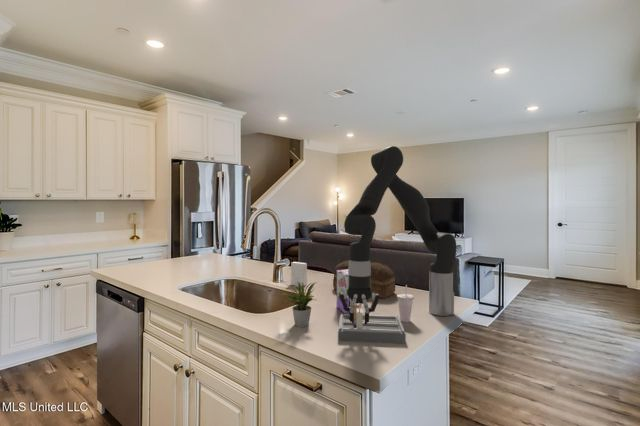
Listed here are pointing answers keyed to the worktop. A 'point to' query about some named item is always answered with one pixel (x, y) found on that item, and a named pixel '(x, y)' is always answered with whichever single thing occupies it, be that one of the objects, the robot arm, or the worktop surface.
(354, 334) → the console
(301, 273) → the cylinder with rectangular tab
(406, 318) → the smoothie
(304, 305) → the house plant
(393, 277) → the bread
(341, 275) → the candy box
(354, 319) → the block
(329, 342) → the worktop surface
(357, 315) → the fader near
